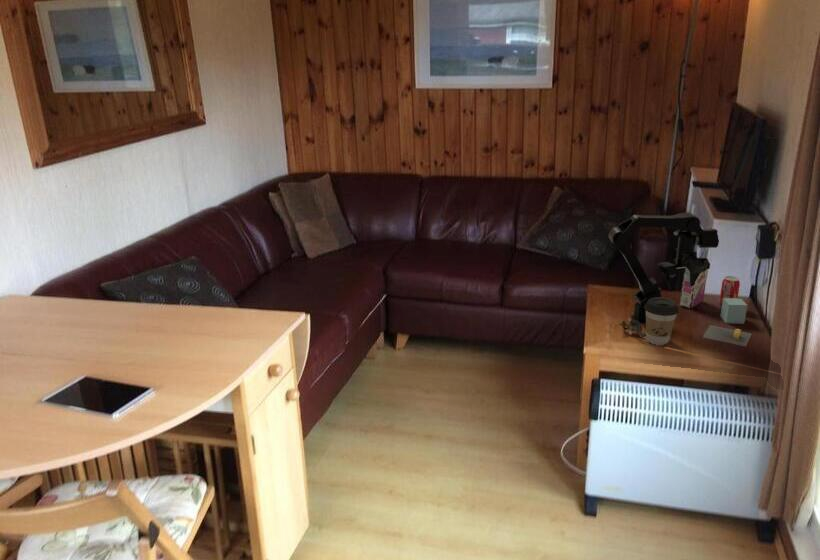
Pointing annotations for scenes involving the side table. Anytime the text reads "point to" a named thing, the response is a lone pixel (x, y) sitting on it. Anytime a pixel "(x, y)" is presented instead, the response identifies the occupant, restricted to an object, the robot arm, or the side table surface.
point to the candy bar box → (693, 289)
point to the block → (733, 310)
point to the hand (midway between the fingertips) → (680, 287)
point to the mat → (727, 335)
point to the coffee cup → (660, 319)
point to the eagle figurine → (633, 327)
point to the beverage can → (729, 288)
